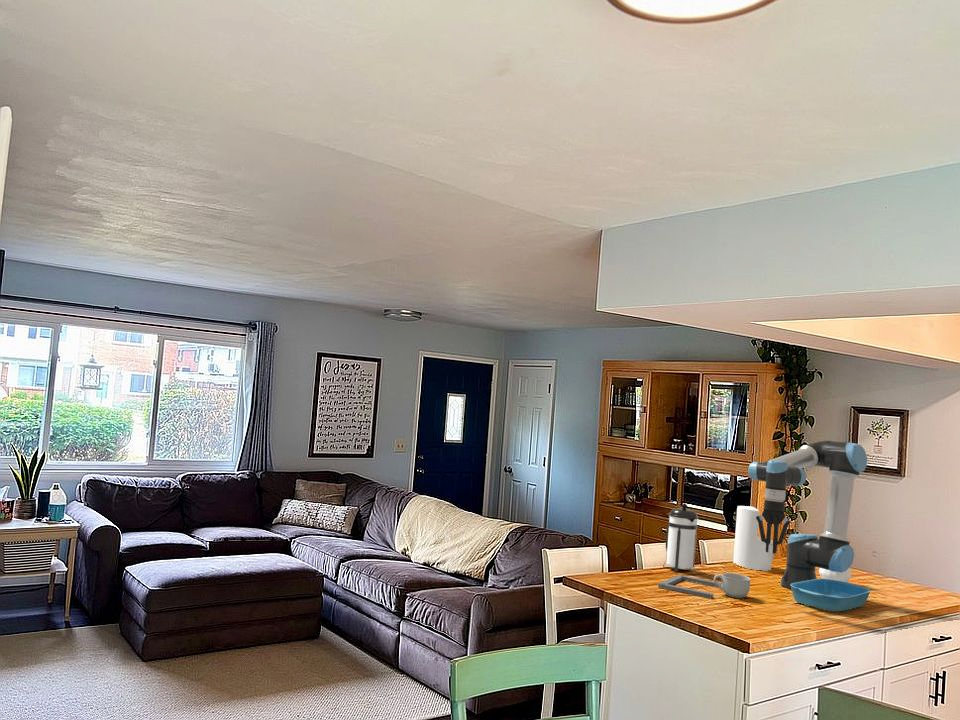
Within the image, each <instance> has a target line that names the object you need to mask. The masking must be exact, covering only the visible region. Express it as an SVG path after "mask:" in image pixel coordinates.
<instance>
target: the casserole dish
mask: <svg viewBox="0 0 960 720" xmlns="http://www.w3.org/2000/svg"><path fill="white" fill-rule="evenodd" d="M790 586H791V589H790V590H791V592H792V597H793V599H794V600H795V601H796V603H798V604H799V603H801V604H800V605H802V604H804V605H803V606H805V605H808V606H807V607H809V606H813V607H816V608H815V609H817V608H820V609H819V610H821V609H825V610H829V611H828V612H830V611H842V612H846V611H845V610H847V611H850V610H853V609H852V608H854V609H857V608H856V607H858V608H860V607H862V606H863V605H865V604H866V602H867V601H868V598H869V595H870V593H871V590H870V589H869V588H866V587H863V586H861V585H858V584H855V583H851V582H849V581H848V582H843V581H836V580H830V579H822V578H817V579H813V580H807V581H802V582H796V583H792V584H790ZM813 607H812V608H813ZM849 609H850V610H849ZM825 610H824V611H825Z"/></svg>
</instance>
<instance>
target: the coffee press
mask: <svg viewBox="0 0 960 720" xmlns="http://www.w3.org/2000/svg"><path fill="white" fill-rule="evenodd" d="M681 507H682V508H680V507H679V508H673V509H671V511H670V512H669V513H668V516H669V521H668V522H667V525H666V533H665V535H666V536H665V551H666V555H665V556H666V557H665V562H664V564H663V565H662V567H663V568H664V569H665V568H667V567H671V568H673V569H674V570H673V572H674V571H675V572H674V573H676V572H677V571H678V572H679V570H689V571H691V572H692V571H693V572H696V573H697V572H698V571H697V569H696V567H695V560H696V559H695V558H696V550H697V549H696V547H697V545H696V544H697V532H698V520H699V516H698V514H697V512H696V511H694V510H693V509H689V508H687V507H688V504H687V503H685V502H684V503H682V505H681ZM665 564H666V566H665ZM693 569H694V570H695V571H694V570H693ZM678 572H677V573H678Z"/></svg>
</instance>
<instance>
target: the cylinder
mask: <svg viewBox="0 0 960 720" xmlns="http://www.w3.org/2000/svg"><path fill="white" fill-rule="evenodd" d="M759 515H760V510H759V509H758V508H757V507H754V506H751V505H750V506H747V505H746V506H745V505H737V508H736V521H735V535H734V536H735V537H734V547H733V549H734V550H733V563H736V564H737V565H739V566H742V567H745V568H748V569H747V570H749V569H753V570H752V571H756V570H762V571H761V572H769V571H768V570H770V571H772V562H768V552H766V543H765V542H762V541H761V536H758V535H759V534H758V532H759V524H758V521H757V519H756V516H759ZM770 544H773V539H771V543H770ZM733 563H732V564H733Z"/></svg>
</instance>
